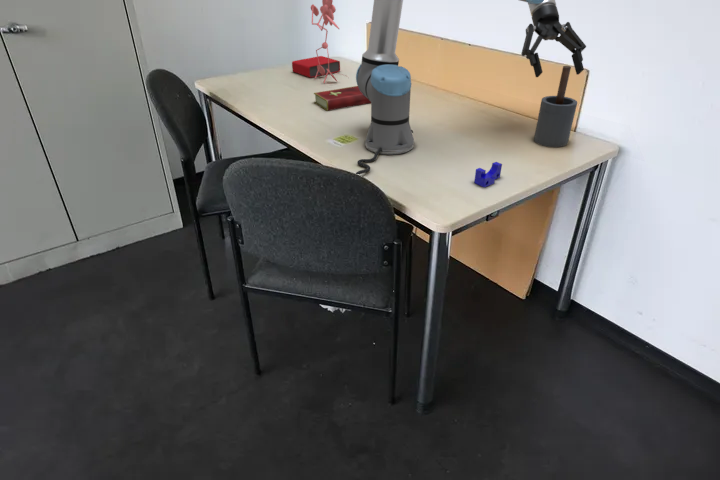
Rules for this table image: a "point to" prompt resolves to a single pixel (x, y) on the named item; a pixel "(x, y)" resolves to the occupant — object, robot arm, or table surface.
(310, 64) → the audio interface
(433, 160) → the table surface
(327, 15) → the figurine
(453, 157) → the table surface
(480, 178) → the cable holder
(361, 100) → the hardcover book
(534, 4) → the robot arm
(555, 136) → the grey cylindrical holder
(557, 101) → the brush
